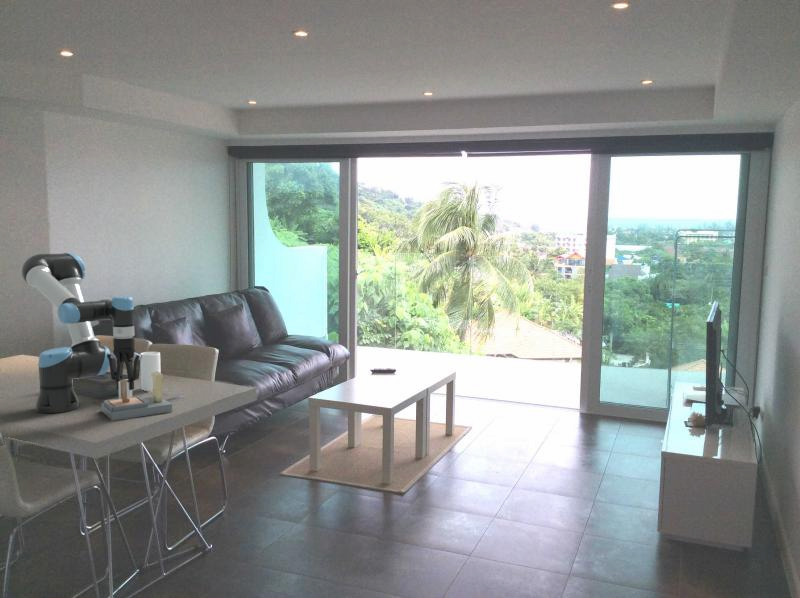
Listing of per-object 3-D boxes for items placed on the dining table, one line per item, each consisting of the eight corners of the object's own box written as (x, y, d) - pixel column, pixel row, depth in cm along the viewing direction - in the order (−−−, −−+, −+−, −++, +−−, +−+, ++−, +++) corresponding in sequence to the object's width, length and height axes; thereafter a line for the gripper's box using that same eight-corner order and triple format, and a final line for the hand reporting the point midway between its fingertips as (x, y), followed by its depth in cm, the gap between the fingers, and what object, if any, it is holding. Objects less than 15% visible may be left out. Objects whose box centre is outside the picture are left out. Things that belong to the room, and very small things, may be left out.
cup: (138, 391, 295) (137, 354, 293) (145, 386, 303) (144, 351, 301) (157, 391, 295) (156, 355, 293) (163, 386, 303) (162, 351, 302)
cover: (115, 410, 252) (114, 383, 251) (108, 404, 260) (108, 379, 259) (143, 406, 258) (142, 380, 257) (135, 400, 266) (134, 375, 265)
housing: (112, 420, 249) (112, 408, 248) (101, 411, 261) (101, 399, 261) (172, 411, 262) (171, 400, 261) (159, 403, 274) (158, 392, 274)
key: (147, 396, 272) (147, 369, 271) (153, 395, 274) (153, 368, 273) (157, 402, 262) (156, 375, 261) (163, 401, 264) (162, 374, 263)
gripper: (99, 338, 254) (101, 399, 256) (138, 339, 251) (139, 401, 254) (110, 335, 261) (112, 394, 263) (148, 336, 259) (149, 396, 261)
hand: (125, 397), depth 258 cm, fingers closed on cover, 2 cm apart
